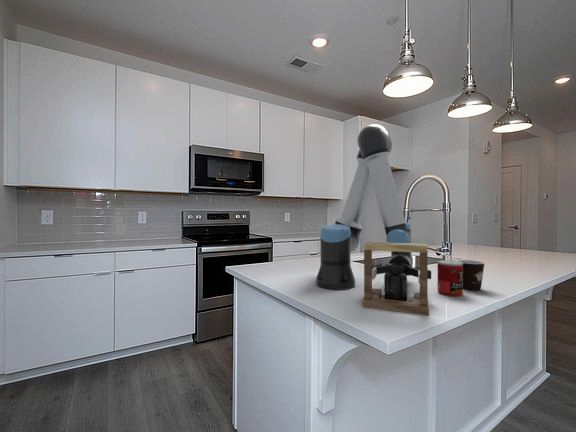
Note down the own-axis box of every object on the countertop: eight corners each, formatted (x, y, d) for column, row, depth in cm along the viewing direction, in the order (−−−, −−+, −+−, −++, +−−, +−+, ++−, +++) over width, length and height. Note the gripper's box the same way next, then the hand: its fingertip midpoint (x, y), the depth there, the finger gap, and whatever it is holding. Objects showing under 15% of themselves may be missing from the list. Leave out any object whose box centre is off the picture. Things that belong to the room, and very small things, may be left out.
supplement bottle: (412, 304, 90) (412, 265, 89) (393, 306, 88) (393, 267, 88) (397, 298, 96) (397, 262, 96) (379, 300, 94) (379, 263, 94)
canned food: (454, 297, 97) (454, 264, 96) (432, 292, 104) (432, 261, 104) (468, 294, 100) (468, 262, 100) (446, 289, 107) (446, 259, 107)
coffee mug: (476, 286, 111) (476, 260, 111) (489, 292, 103) (489, 264, 103) (444, 285, 113) (444, 259, 112) (455, 291, 104) (455, 263, 104)
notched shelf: (370, 294, 101) (370, 239, 101) (427, 300, 94) (427, 241, 94) (362, 306, 88) (362, 244, 88) (428, 315, 80) (428, 246, 80)
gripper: (437, 278, 103) (441, 293, 84) (365, 272, 113) (354, 285, 94) (437, 257, 103) (441, 267, 84) (365, 253, 113) (354, 262, 94)
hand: (395, 277), depth 89 cm, fingers open, 13 cm apart
